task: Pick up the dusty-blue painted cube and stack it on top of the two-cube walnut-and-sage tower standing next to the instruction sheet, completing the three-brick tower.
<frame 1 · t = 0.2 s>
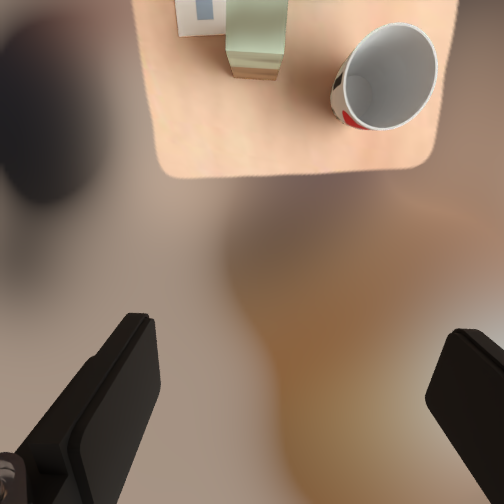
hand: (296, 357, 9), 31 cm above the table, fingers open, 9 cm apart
cup: (351, 98, 33), on the table
tower base: (256, 54, 32), on the table
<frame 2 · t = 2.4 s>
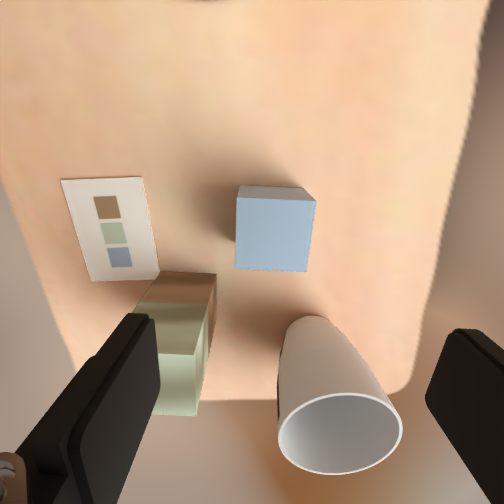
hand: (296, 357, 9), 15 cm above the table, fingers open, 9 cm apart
instruction card: (115, 232, 23), on the table
cup: (310, 334, 27), on the table
blue brick: (269, 216, 23), on the table
tower base: (189, 296, 26), on the table
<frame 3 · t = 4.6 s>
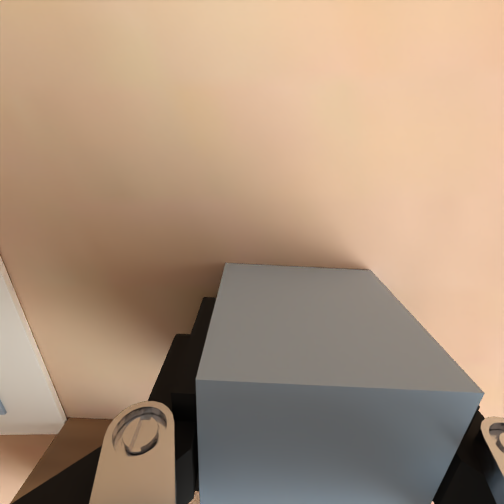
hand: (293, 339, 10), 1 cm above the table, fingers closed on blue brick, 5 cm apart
blue brick: (290, 326, 10), on the table, touching gripper
tower base: (130, 456, 13), on the table
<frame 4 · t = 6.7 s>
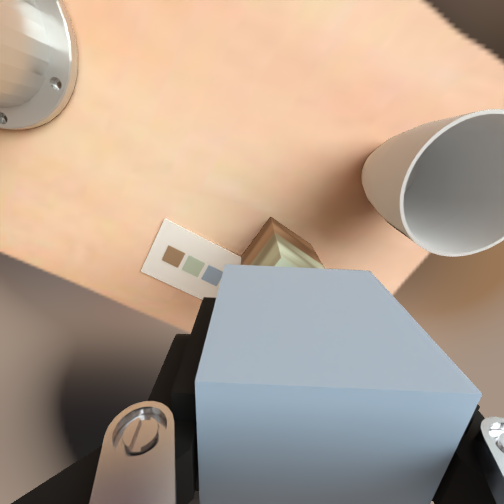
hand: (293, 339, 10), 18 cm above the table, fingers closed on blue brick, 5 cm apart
instruction card: (193, 265, 28), on the table
cup: (388, 172, 25), on the table
blue brick: (290, 327, 10), point 17 cm above the table, touching gripper
tower base: (275, 250, 27), on the table
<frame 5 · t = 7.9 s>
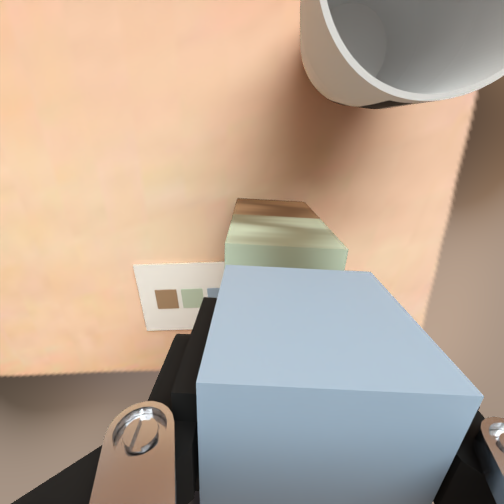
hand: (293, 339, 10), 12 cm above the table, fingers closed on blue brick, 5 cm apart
instruction card: (193, 296, 23), on the table
cup: (345, 52, 17), on the table
blue brick: (290, 328, 10), point 12 cm above the table, touching gripper
tower base: (268, 232, 21), on the table
when the fingers open (11 cm above the table, at t = 8.9 s): blue brick stays where it is, resting on tower base.
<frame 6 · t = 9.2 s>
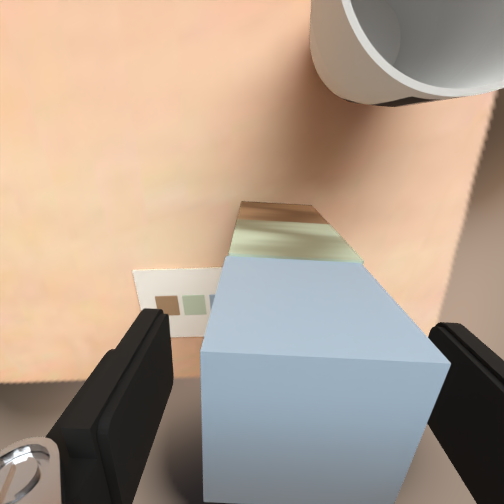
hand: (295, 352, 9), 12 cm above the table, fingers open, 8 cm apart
instruction card: (195, 303, 22), on the table
cup: (356, 47, 16), on the table
blue brick: (286, 316, 11), point 10 cm above the table, touching tower base
tower base: (273, 236, 20), on the table, touching blue brick
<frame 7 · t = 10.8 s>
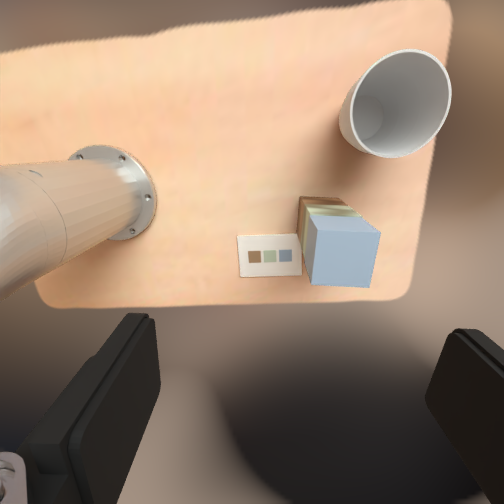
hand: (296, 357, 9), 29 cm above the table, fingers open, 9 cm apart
instruction card: (270, 255, 39), on the table
cup: (361, 118, 32), on the table
blue brick: (331, 240, 27), point 10 cm above the table, touching tower base
tower base: (316, 215, 37), on the table, touching blue brick
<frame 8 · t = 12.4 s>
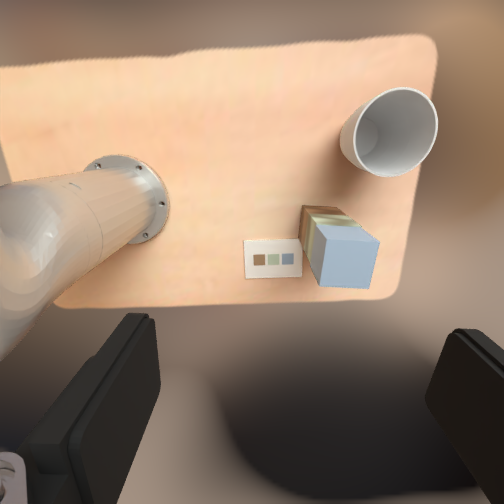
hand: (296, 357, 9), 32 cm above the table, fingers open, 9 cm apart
instruction card: (273, 258, 43), on the table
cup: (358, 137, 36), on the table
blue brick: (334, 247, 31), point 10 cm above the table, touching tower base
tower base: (316, 223, 40), on the table, touching blue brick
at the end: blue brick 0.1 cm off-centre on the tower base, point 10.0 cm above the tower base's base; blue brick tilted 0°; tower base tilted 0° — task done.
